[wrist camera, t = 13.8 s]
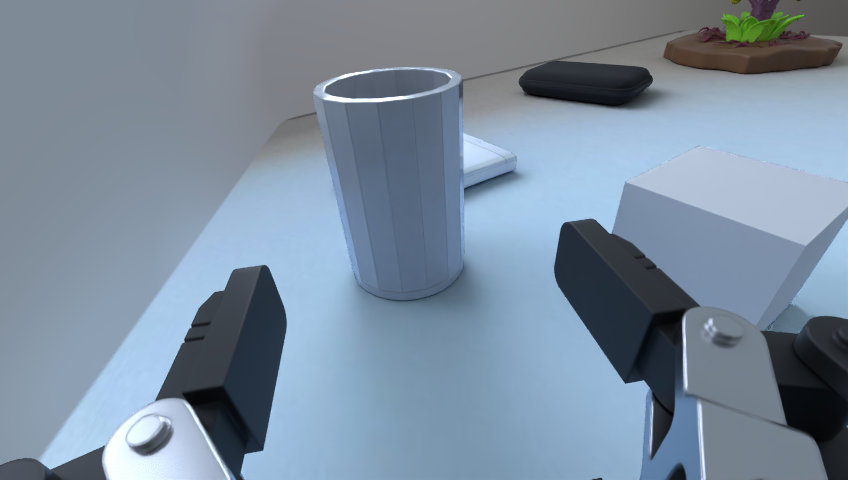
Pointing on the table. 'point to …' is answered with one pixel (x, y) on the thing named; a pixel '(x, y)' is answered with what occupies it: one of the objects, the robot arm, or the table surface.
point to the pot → (398, 175)
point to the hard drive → (484, 160)
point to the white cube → (733, 228)
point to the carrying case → (586, 81)
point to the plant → (753, 44)
